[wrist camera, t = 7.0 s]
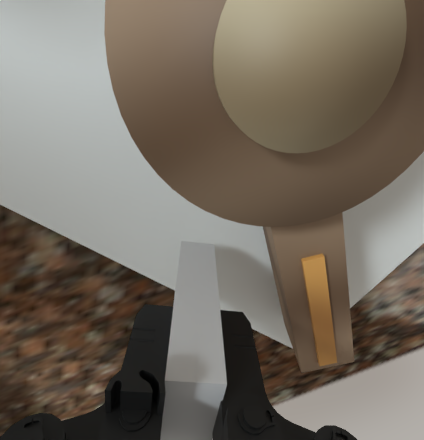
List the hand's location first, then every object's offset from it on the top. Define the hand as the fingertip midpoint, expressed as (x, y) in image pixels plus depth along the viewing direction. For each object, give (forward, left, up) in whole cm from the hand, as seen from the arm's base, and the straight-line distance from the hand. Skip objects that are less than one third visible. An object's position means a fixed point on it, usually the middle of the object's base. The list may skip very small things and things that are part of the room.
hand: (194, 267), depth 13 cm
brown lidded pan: (+1, +6, -1) cm, 6 cm away
